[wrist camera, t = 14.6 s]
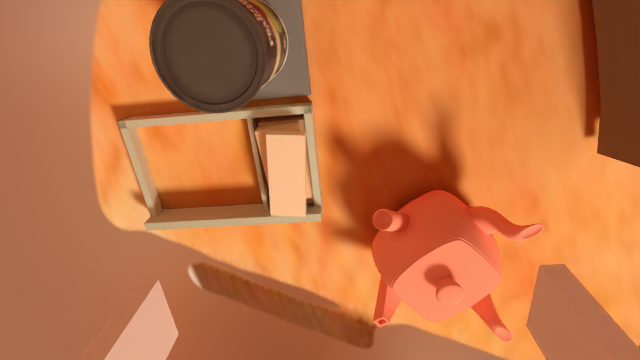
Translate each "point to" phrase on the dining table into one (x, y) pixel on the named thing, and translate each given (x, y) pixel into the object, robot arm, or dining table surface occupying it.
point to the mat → (289, 55)
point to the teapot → (441, 258)
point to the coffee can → (217, 51)
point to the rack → (270, 159)
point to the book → (619, 78)
